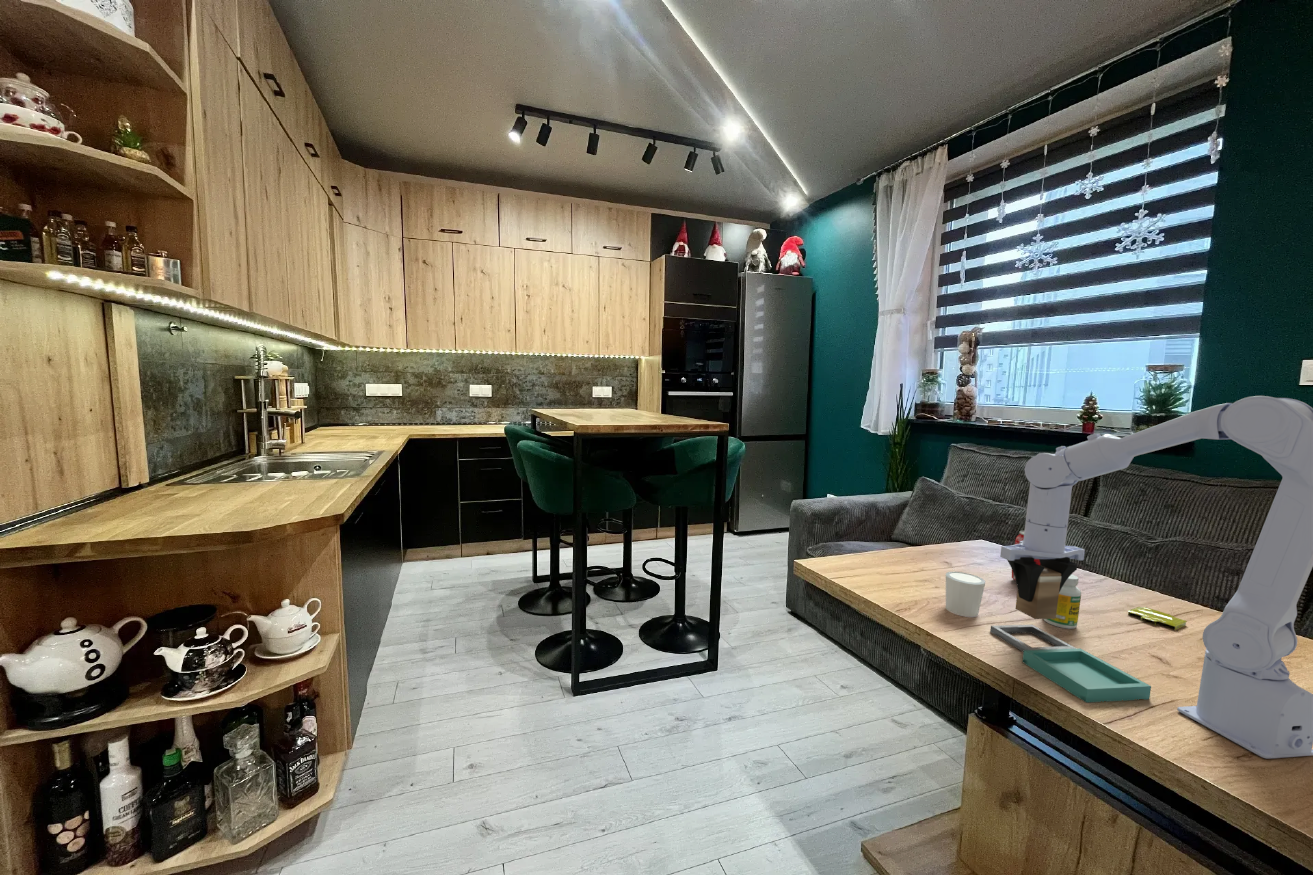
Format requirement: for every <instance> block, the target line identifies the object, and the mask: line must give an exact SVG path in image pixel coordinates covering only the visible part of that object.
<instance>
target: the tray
mask: <svg viewBox="0 0 1313 875" xmlns="http://www.w3.org/2000/svg"><path fill="white" fill-rule="evenodd" d="M1022 664H1025V665H1026V666H1028V667H1029V668H1031V669H1033V670H1034V671H1036V672H1037V673H1039V674H1041V675H1042V676H1043V677H1045V678H1047V679H1048V680H1050V681H1052V682H1053V683H1054V684H1057V685H1058V686H1059V687H1061V688H1062V687H1063V689H1064V688H1065V689H1064V690H1065V691H1067V692H1069V693H1071V694H1072V695H1074V696H1075V697H1076V698H1078V699H1079V700H1082V701H1083V702H1084V703H1103V702H1104V701H1106V702H1122V700H1123V702H1124V701H1138V700H1139V699H1144V700H1150V697H1151V690H1152V686H1151V685H1149V684H1148V683H1146V682H1144V681H1142V680H1141V679H1138V678H1137V677H1135V676H1133V675H1131V674H1129V673H1128V672H1126V671H1123V670H1122V669H1120V668H1118V667H1116V666H1114V665H1113V664H1110V663H1109V662H1107V661H1104V660H1103V659H1101V658H1099V657H1097V656H1095V655H1093V654H1092V653H1090V652H1088V651H1086V650H1085V649H1082V648H1077V649H1049V650H1024V652H1022ZM1135 699H1136V700H1135ZM1137 699H1138V700H1137ZM1101 701H1102V702H1101ZM1139 701H1140V700H1139Z"/></svg>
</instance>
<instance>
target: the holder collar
mask: <svg viewBox="0 0 1313 875" xmlns="http://www.w3.org/2000/svg"><path fill="white" fill-rule="evenodd" d="M989 631H990V633H991V634H993V635H995V636H996V637H998V638H1000V639H1001V640H1003V641H1004V642H1006V643H1008V644H1009V645H1011V646H1013V647H1014V648H1016V649H1018V650H1019V651H1021V652H1022V653H1024V650H1049V649H1078V648H1077V647H1075V646H1073V645H1072V644H1069V643H1067V642H1066V641H1063V640H1062V639H1060V638H1058V637H1056V636H1055V635H1053V634H1050V633H1048V632H1047V631H1045V630H1043V629H1041V628H1039V627H1038V626H1036V625H1034V624H1010V625H1009V624H1004V625H1003V624H1002V625H999V624H998V625H990V630H989ZM1012 634H1032V635H1035V636H1037V637H1038V638H1040V639H1041V640H1043V641H1045V642H1047V643H1049V644H1051V645H1052V646H1037V647H1036V646H1035V647H1032V646H1031V645H1029V644H1027V643H1025V642H1024V641H1022V640H1020V639H1019V638H1018V637H1015V636H1014V635H1012Z"/></svg>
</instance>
